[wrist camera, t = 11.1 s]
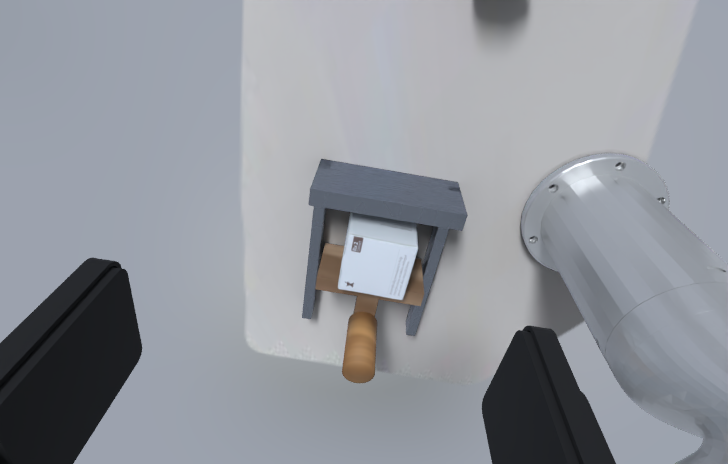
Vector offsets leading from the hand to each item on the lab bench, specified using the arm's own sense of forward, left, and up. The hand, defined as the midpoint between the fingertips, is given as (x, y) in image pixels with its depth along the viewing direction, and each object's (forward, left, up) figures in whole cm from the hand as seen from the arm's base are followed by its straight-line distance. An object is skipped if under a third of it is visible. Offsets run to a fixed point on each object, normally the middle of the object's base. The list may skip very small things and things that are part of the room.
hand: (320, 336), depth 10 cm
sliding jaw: (-12, +17, -28) cm, 35 cm away
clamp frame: (-10, +14, -28) cm, 33 cm away
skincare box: (-9, +11, -29) cm, 32 cm away
